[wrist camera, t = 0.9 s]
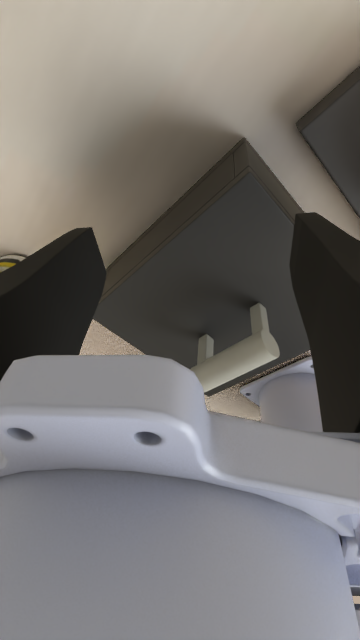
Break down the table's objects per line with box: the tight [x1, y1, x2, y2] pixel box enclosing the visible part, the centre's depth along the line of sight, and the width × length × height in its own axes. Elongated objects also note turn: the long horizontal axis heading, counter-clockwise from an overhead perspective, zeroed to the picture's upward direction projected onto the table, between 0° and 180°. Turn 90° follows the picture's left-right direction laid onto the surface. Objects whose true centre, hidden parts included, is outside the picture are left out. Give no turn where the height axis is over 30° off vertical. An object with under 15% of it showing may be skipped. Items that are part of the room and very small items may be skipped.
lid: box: [93, 167, 310, 396], centre depth 19 cm, size 11×13×4 cm
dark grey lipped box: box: [101, 138, 304, 297], centre depth 22 cm, size 11×13×4 cm
